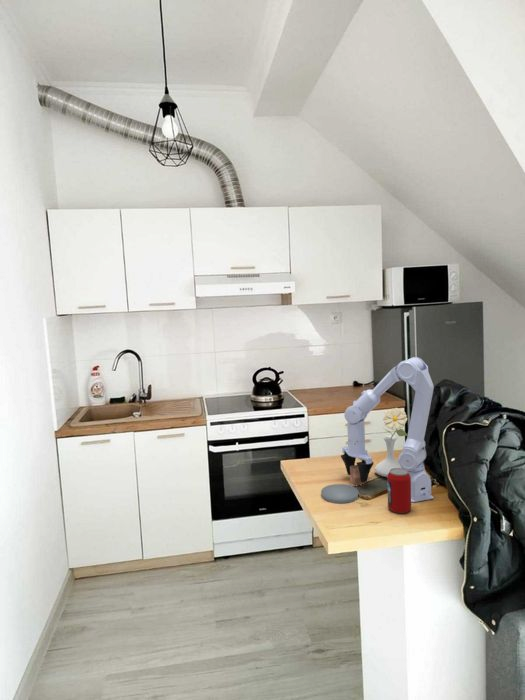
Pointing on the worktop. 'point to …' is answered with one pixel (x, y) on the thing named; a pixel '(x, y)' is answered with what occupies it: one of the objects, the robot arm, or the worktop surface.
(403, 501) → the beverage can
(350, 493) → the slate base plate
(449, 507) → the worktop surface
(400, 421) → the flower in vase
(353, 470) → the terracotta block
